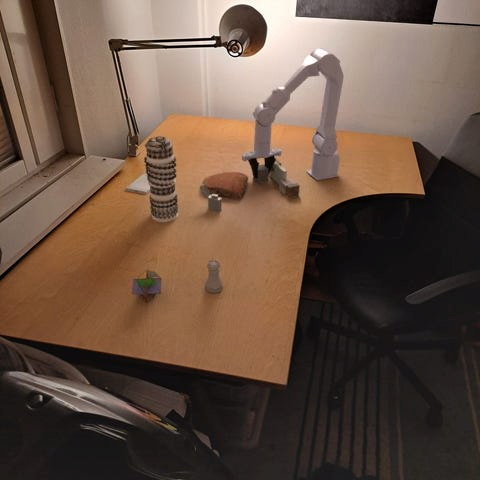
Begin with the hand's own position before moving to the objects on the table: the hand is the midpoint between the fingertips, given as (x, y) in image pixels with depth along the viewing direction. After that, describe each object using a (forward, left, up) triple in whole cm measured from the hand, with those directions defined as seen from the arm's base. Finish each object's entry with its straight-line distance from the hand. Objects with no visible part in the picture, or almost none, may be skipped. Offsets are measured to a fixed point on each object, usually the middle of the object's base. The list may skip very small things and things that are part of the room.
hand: (260, 176), depth 163 cm
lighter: (+24, +13, -2) cm, 27 cm away
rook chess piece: (+37, +51, -2) cm, 63 cm away
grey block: (0, 0, -1) cm, 1 cm away
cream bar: (-5, +4, -1) cm, 7 cm away
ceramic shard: (+14, +1, -2) cm, 15 cm away
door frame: (-5, +4, -1) cm, 7 cm away
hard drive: (+40, -11, -2) cm, 42 cm away
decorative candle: (+39, +12, -2) cm, 41 cm away
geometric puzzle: (+53, +48, -2) cm, 72 cm away
